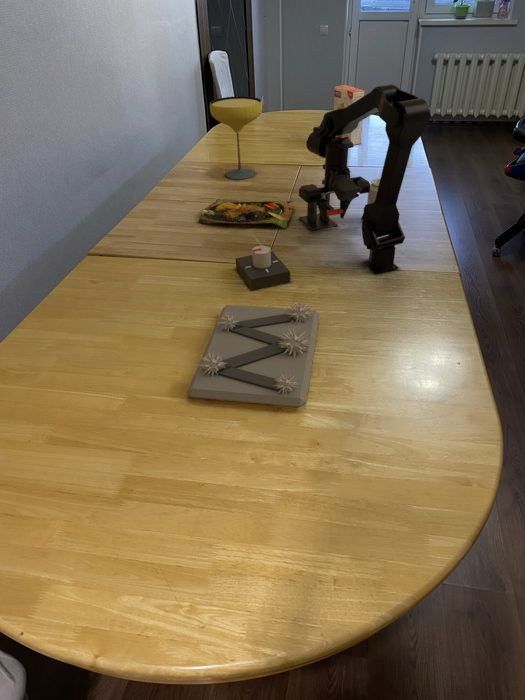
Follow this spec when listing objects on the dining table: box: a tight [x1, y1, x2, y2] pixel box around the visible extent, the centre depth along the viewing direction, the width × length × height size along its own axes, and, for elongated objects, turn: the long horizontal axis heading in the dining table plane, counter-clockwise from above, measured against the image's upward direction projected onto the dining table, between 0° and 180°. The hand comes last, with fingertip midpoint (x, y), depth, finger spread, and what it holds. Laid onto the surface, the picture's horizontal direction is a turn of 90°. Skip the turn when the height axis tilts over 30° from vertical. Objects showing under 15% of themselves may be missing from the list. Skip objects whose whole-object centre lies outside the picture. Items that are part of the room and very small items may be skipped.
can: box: [366, 178, 381, 205], centre depth 150 cm, size 8×8×12 cm
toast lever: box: [326, 203, 343, 217], centre depth 146 cm, size 12×5×2 cm, turn 20°
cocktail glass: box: [209, 95, 263, 181], centre depth 185 cm, size 18×18×25 cm
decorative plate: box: [186, 300, 320, 408], centre depth 101 cm, size 30×22×7 cm
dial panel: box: [235, 250, 291, 291], centre depth 129 cm, size 12×10×3 cm
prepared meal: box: [198, 198, 297, 230], centre depth 159 cm, size 28×4×18 cm
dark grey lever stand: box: [298, 193, 339, 232], centre depth 151 cm, size 10×8×10 cm
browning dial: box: [252, 245, 272, 269], centre depth 127 cm, size 4×4×4 cm
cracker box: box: [333, 84, 365, 146], centre depth 216 cm, size 14×6×21 cm, turn 25°
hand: (333, 219), depth 143 cm, fingers closed on toast lever, 5 cm apart
